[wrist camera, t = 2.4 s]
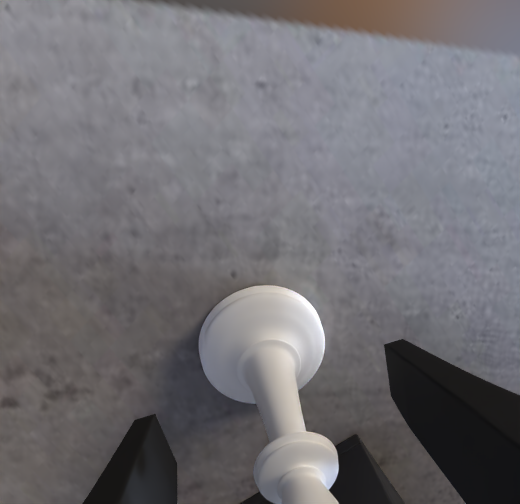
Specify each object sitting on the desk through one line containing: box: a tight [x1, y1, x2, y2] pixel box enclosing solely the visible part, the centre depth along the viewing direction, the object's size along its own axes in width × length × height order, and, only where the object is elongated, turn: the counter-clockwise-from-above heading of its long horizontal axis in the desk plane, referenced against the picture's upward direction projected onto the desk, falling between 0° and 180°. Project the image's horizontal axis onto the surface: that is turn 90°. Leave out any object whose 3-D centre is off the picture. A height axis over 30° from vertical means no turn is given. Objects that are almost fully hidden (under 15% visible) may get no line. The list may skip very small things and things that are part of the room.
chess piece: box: [199, 285, 339, 504], centre depth 9 cm, size 5×5×10 cm
